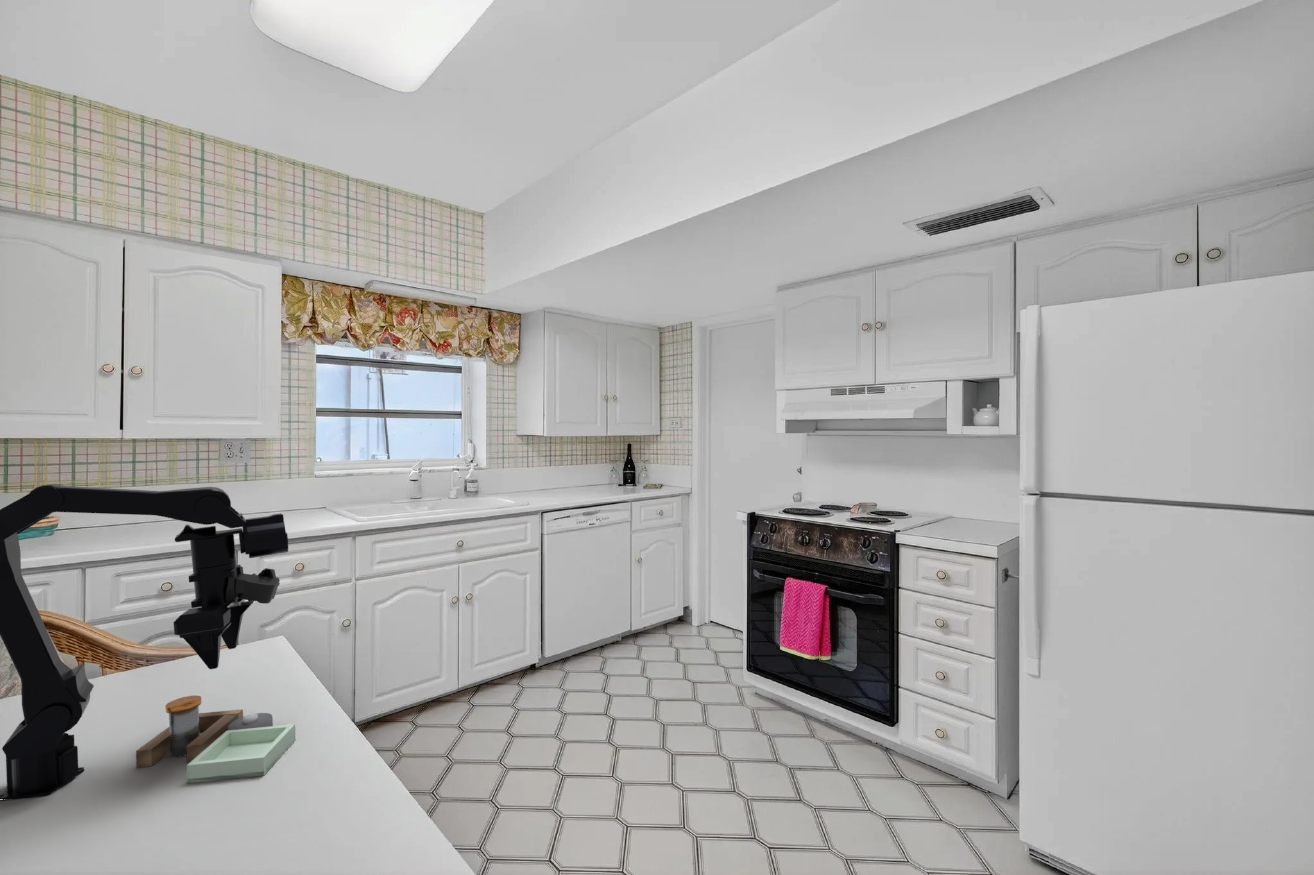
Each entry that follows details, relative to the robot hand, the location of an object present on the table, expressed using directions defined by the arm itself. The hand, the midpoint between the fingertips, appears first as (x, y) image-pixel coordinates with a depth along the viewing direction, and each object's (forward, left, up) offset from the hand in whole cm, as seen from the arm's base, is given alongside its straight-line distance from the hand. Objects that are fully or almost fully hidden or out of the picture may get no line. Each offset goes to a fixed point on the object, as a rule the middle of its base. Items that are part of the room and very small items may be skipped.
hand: (223, 658), depth 97 cm
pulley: (+4, -1, -13) cm, 14 cm away
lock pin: (-4, -4, -13) cm, 14 cm away
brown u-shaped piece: (-4, -2, -13) cm, 14 cm away
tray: (+7, -9, -13) cm, 17 cm away
